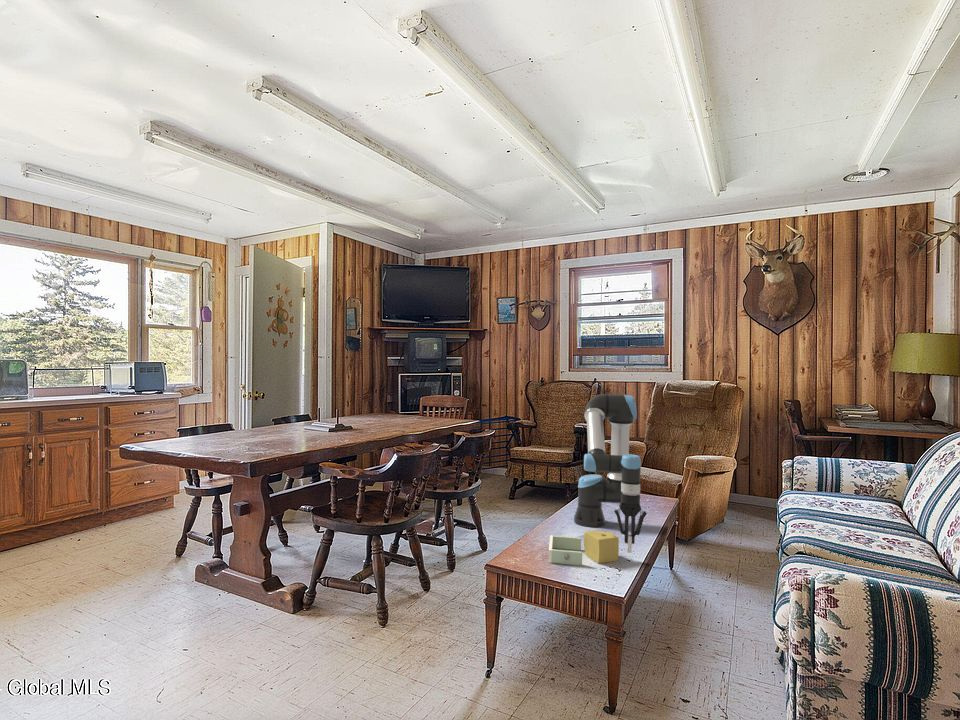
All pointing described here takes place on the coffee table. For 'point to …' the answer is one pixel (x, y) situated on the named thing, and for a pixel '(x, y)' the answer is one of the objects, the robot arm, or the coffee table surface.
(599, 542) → the cheese
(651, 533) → the coffee table surface
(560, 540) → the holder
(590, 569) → the coffee table surface
